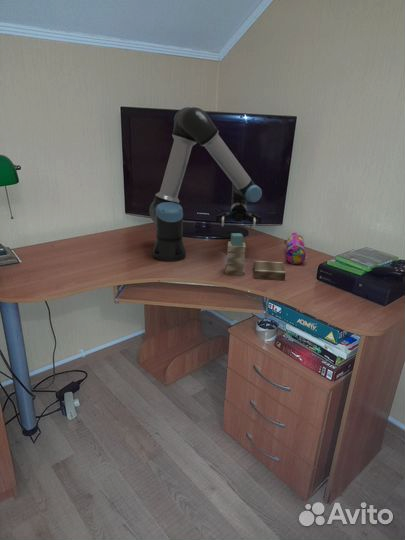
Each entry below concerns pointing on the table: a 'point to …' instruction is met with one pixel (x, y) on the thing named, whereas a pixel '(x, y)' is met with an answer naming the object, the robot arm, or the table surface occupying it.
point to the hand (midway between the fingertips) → (238, 224)
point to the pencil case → (295, 249)
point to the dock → (269, 270)
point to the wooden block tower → (235, 260)
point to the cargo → (236, 239)
